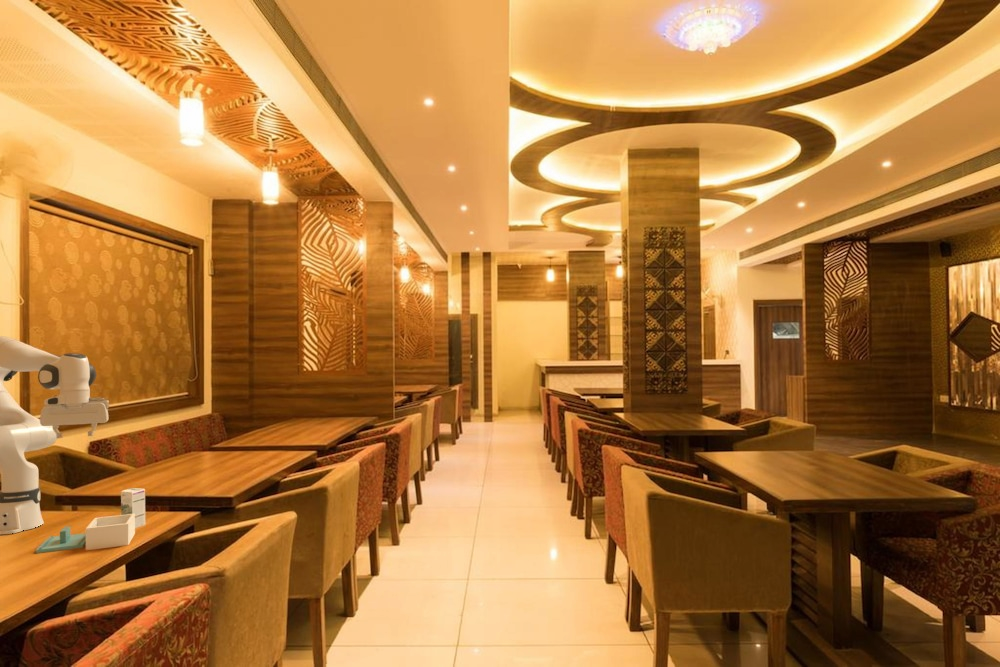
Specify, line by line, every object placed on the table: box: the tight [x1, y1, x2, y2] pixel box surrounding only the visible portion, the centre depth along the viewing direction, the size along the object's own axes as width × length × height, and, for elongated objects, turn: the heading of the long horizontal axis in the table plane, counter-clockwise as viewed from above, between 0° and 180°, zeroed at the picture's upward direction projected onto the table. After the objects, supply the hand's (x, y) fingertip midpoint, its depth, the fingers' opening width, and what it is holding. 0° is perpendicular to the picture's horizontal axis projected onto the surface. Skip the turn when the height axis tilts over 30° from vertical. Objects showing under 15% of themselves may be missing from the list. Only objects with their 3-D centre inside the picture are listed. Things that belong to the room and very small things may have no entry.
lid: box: [35, 525, 86, 554], centre depth 207 cm, size 13×15×6 cm
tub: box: [85, 514, 136, 551], centre depth 208 cm, size 12×14×8 cm
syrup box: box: [120, 487, 147, 529], centre depth 227 cm, size 6×6×14 cm
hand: (75, 437), depth 220 cm, fingers open, 8 cm apart
